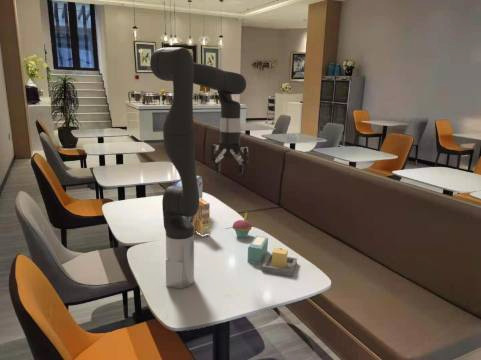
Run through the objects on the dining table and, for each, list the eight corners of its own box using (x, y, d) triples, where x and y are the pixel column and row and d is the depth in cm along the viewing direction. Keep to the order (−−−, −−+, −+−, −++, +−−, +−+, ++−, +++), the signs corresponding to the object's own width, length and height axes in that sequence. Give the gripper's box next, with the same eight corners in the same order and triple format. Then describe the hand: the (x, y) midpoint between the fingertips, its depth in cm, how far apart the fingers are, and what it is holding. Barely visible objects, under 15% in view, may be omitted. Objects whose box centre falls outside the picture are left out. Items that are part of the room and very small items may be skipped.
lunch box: (185, 208, 203) (185, 169, 197) (204, 210, 201) (204, 170, 196) (168, 227, 176) (167, 181, 171) (189, 228, 175) (189, 183, 169)
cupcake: (254, 234, 170) (255, 209, 167) (245, 241, 163) (246, 214, 160) (238, 230, 174) (239, 206, 171) (228, 236, 167) (229, 210, 164)
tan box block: (284, 269, 138) (285, 253, 136) (271, 267, 139) (272, 251, 137) (286, 264, 141) (287, 249, 140) (273, 262, 143) (274, 247, 141)
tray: (291, 276, 134) (292, 271, 133) (261, 271, 137) (262, 266, 136) (296, 263, 144) (296, 258, 143) (268, 258, 147) (268, 253, 146)
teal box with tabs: (260, 264, 142) (260, 248, 141) (247, 261, 144) (248, 247, 142) (267, 251, 154) (268, 237, 152) (255, 249, 155) (256, 235, 153)
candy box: (210, 235, 168) (210, 203, 164) (201, 237, 165) (201, 204, 161) (200, 229, 175) (200, 197, 171) (192, 231, 172) (192, 199, 169)
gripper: (208, 130, 137) (208, 173, 140) (246, 132, 133) (244, 177, 137) (215, 128, 144) (215, 169, 147) (251, 130, 140) (250, 172, 144)
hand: (229, 173), depth 142 cm, fingers open, 8 cm apart
